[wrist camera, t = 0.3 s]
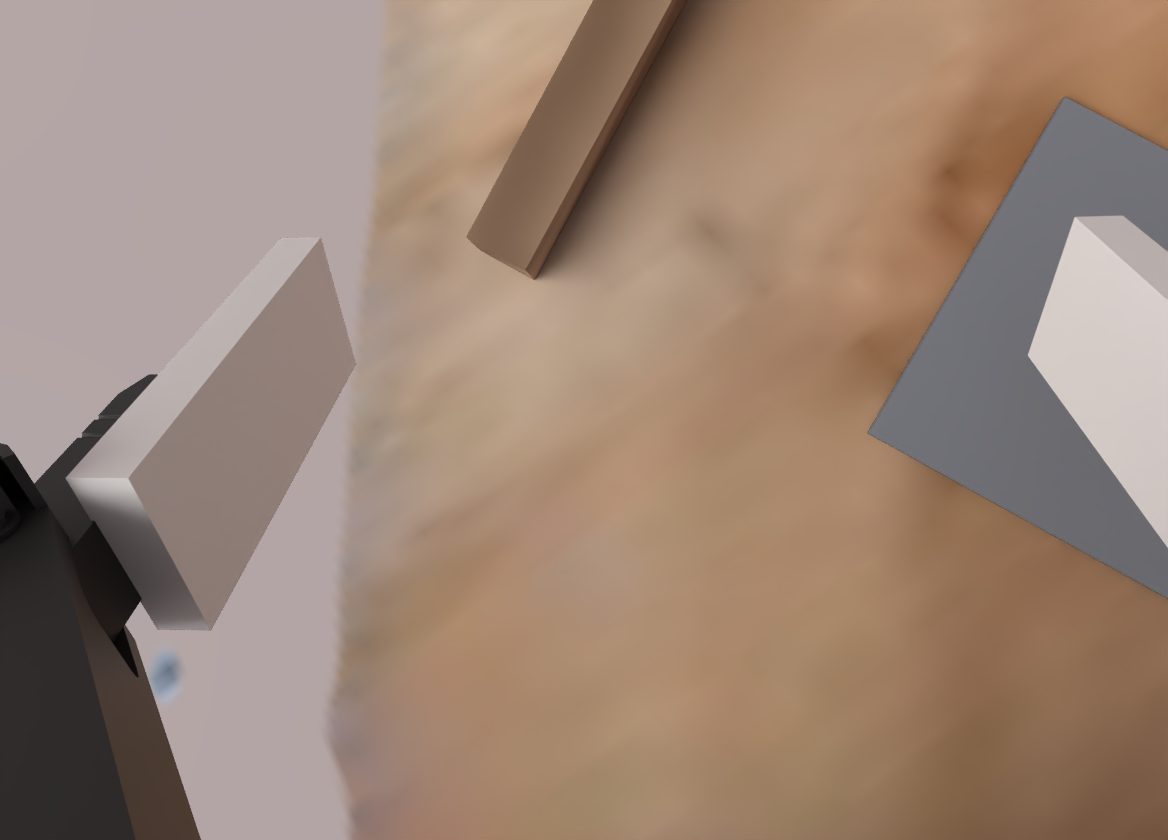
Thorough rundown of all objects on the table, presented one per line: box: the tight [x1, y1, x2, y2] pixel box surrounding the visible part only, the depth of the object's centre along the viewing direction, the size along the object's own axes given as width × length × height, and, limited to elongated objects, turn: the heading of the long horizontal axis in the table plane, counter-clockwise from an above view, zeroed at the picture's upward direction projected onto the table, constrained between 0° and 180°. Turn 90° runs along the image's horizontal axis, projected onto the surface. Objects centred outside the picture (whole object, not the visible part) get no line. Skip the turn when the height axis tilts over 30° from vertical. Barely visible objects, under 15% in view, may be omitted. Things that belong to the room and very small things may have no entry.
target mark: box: [868, 97, 1168, 599], centre depth 28 cm, size 14×14×1 cm
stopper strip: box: [467, 0, 687, 280], centre depth 28 cm, size 2×16×2 cm, turn 151°
